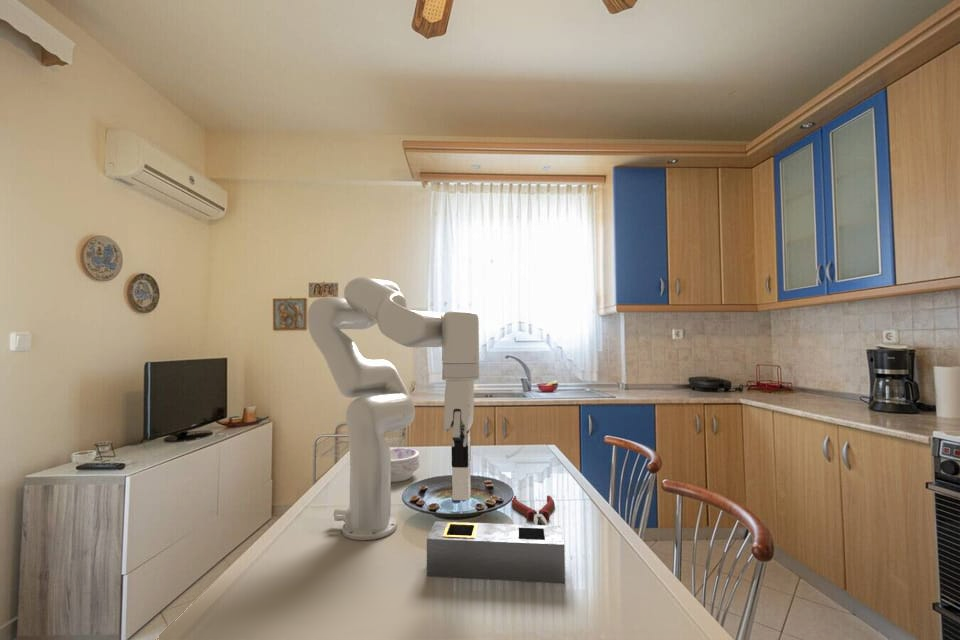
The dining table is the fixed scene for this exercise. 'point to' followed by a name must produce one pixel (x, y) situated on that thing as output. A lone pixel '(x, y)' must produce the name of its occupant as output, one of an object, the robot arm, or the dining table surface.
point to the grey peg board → (496, 552)
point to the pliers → (532, 514)
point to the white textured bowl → (403, 463)
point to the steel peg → (462, 478)
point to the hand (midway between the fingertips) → (461, 463)
